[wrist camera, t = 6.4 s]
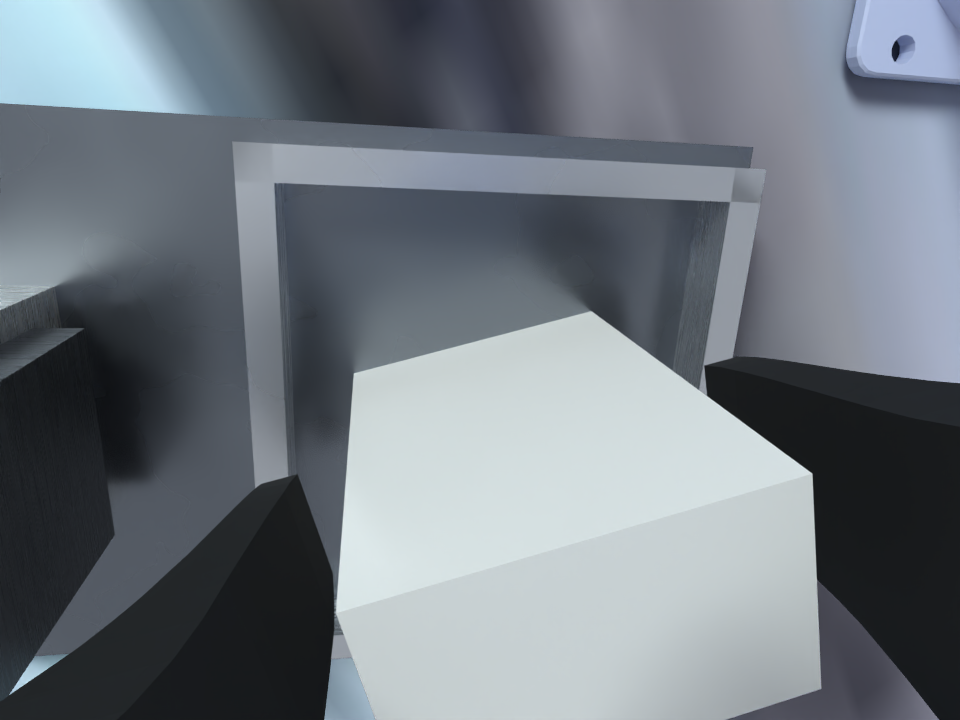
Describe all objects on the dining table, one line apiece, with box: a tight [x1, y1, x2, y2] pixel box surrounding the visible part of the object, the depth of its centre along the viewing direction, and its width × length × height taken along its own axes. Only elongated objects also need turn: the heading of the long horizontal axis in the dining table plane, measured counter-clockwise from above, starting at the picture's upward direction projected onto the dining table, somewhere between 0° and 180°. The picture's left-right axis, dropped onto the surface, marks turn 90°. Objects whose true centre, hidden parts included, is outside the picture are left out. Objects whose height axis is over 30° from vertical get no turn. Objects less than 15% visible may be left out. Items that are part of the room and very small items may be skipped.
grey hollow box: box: [0, 103, 766, 701], centre depth 10 cm, size 20×11×8 cm, turn 87°
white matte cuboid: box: [336, 311, 821, 720], centre depth 10 cm, size 4×5×7 cm
